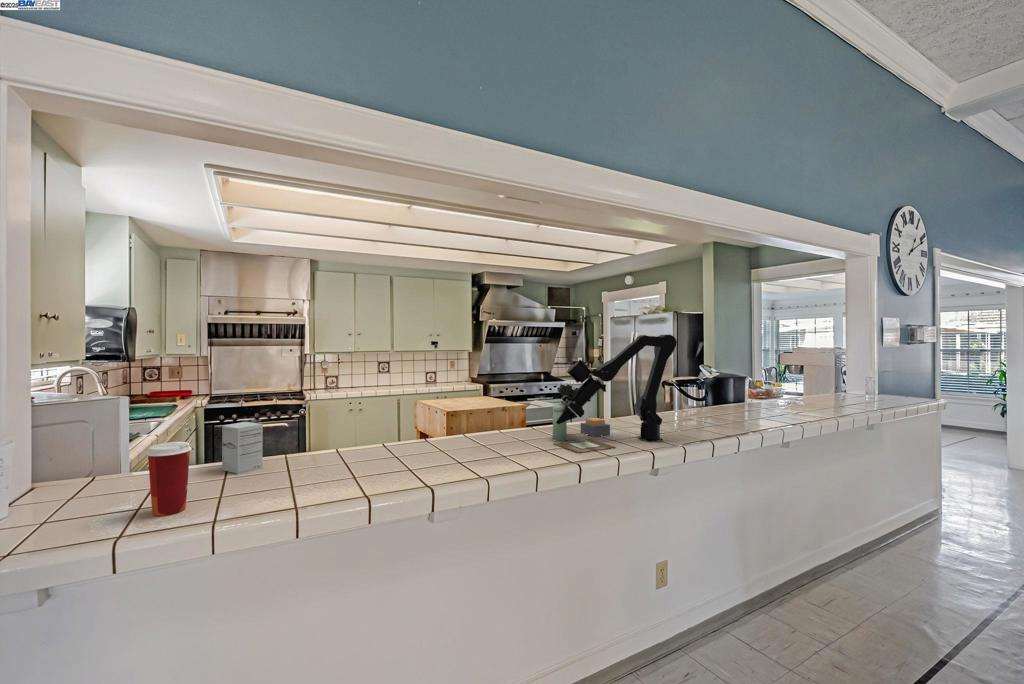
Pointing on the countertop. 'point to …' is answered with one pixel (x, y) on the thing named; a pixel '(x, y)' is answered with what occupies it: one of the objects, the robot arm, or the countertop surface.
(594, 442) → the picture board
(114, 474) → the countertop surface
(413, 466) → the countertop surface
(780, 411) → the countertop surface
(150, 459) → the paper cup
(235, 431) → the supplement box
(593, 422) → the button
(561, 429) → the green capped bottle
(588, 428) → the button box
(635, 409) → the robot arm
